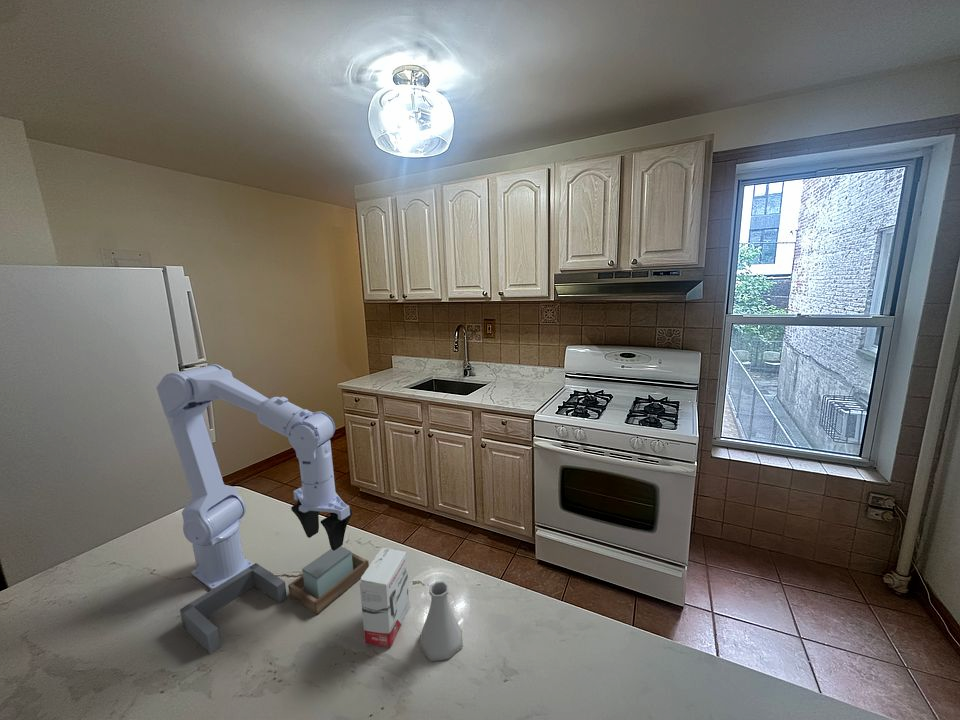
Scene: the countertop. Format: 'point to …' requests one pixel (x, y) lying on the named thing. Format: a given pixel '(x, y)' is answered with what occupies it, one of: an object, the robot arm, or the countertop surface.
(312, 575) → the pale grey block
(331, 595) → the walnut tray
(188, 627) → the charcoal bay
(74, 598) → the countertop surface
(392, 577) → the ink box
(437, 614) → the flask
